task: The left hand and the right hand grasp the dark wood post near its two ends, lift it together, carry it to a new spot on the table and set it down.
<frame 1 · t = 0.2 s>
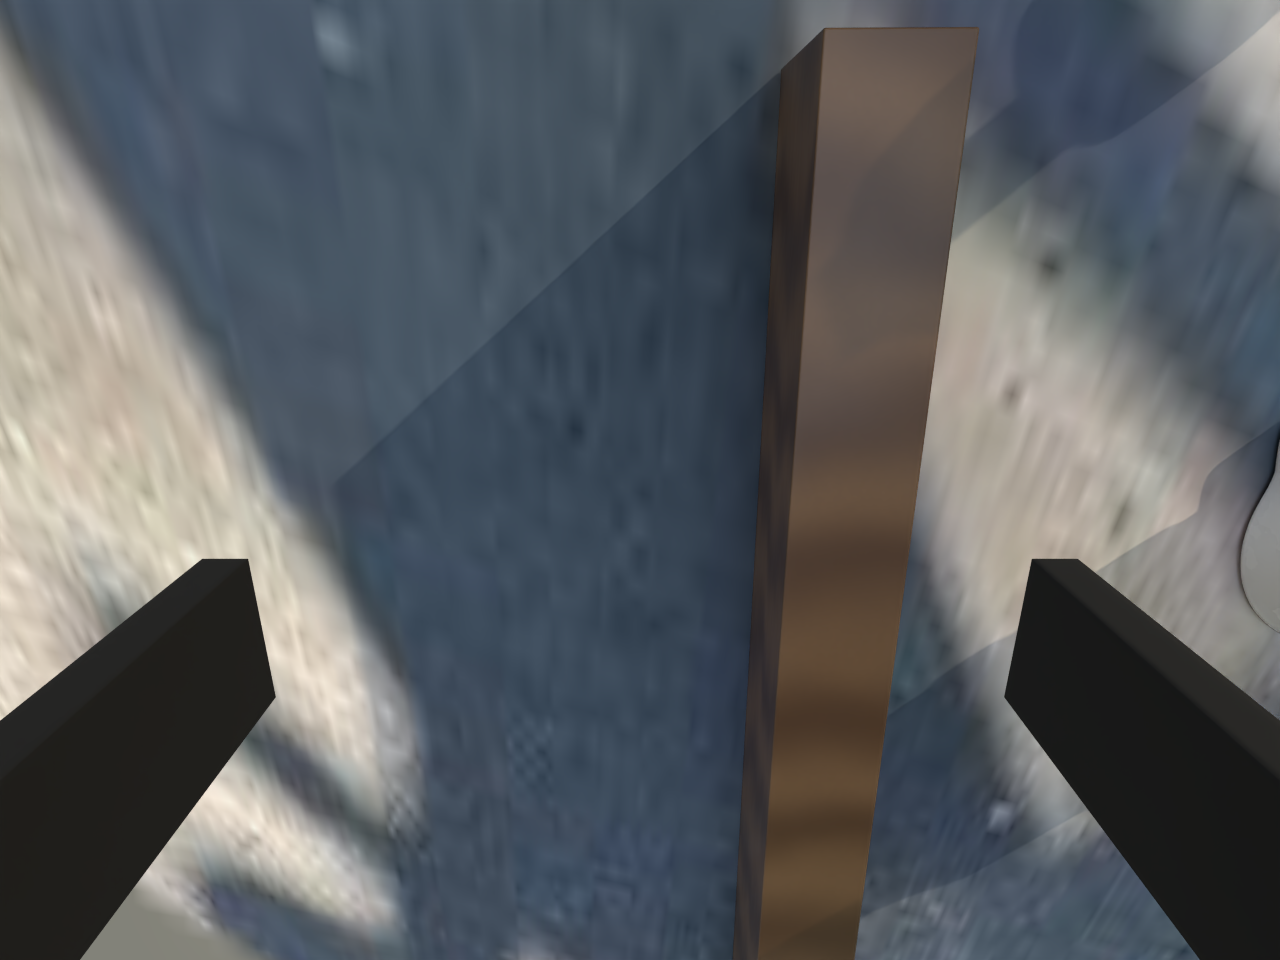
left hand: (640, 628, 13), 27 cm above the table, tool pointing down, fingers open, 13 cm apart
post: (796, 627, 44), on the table
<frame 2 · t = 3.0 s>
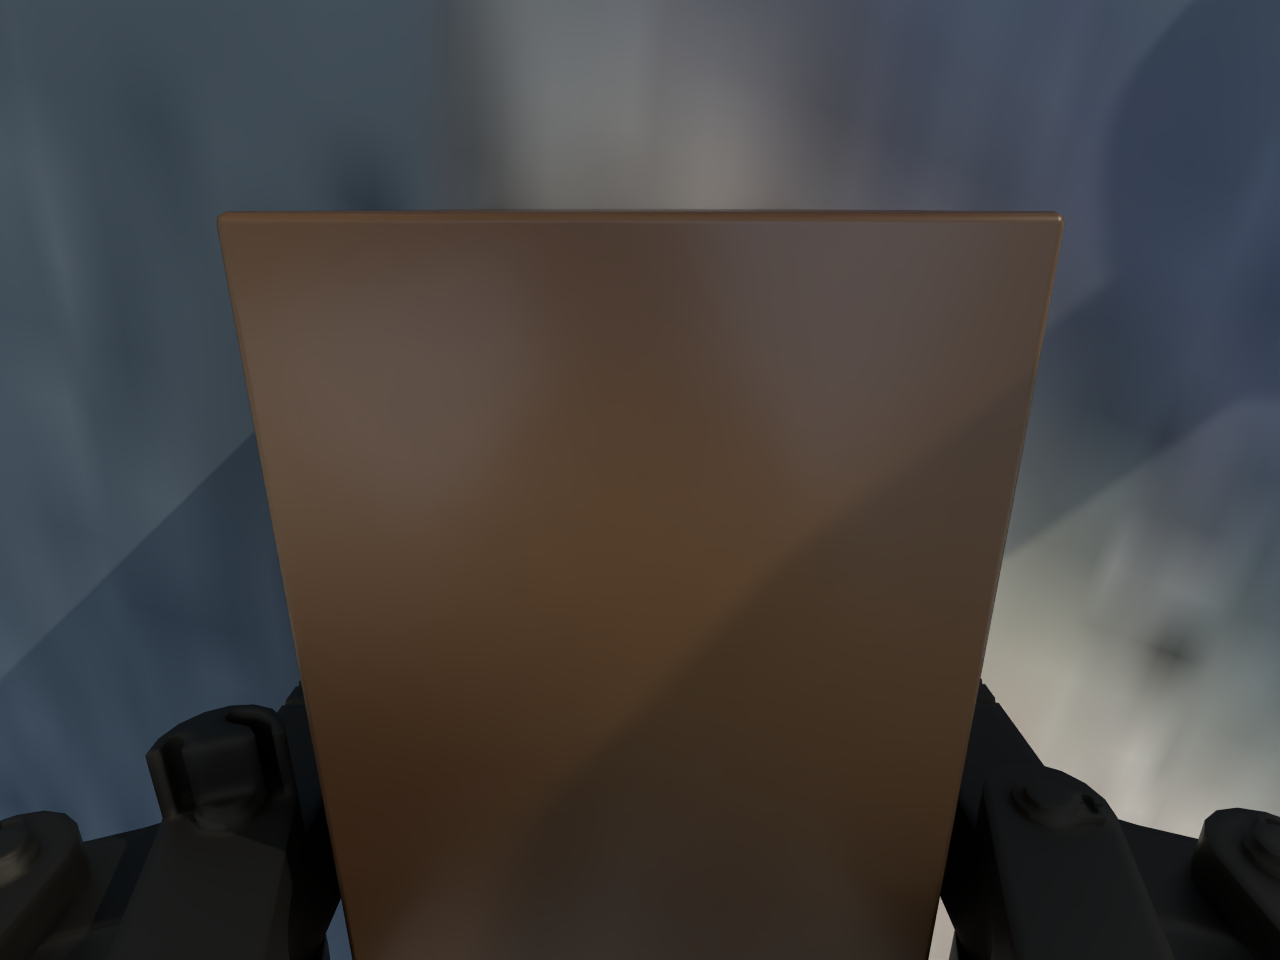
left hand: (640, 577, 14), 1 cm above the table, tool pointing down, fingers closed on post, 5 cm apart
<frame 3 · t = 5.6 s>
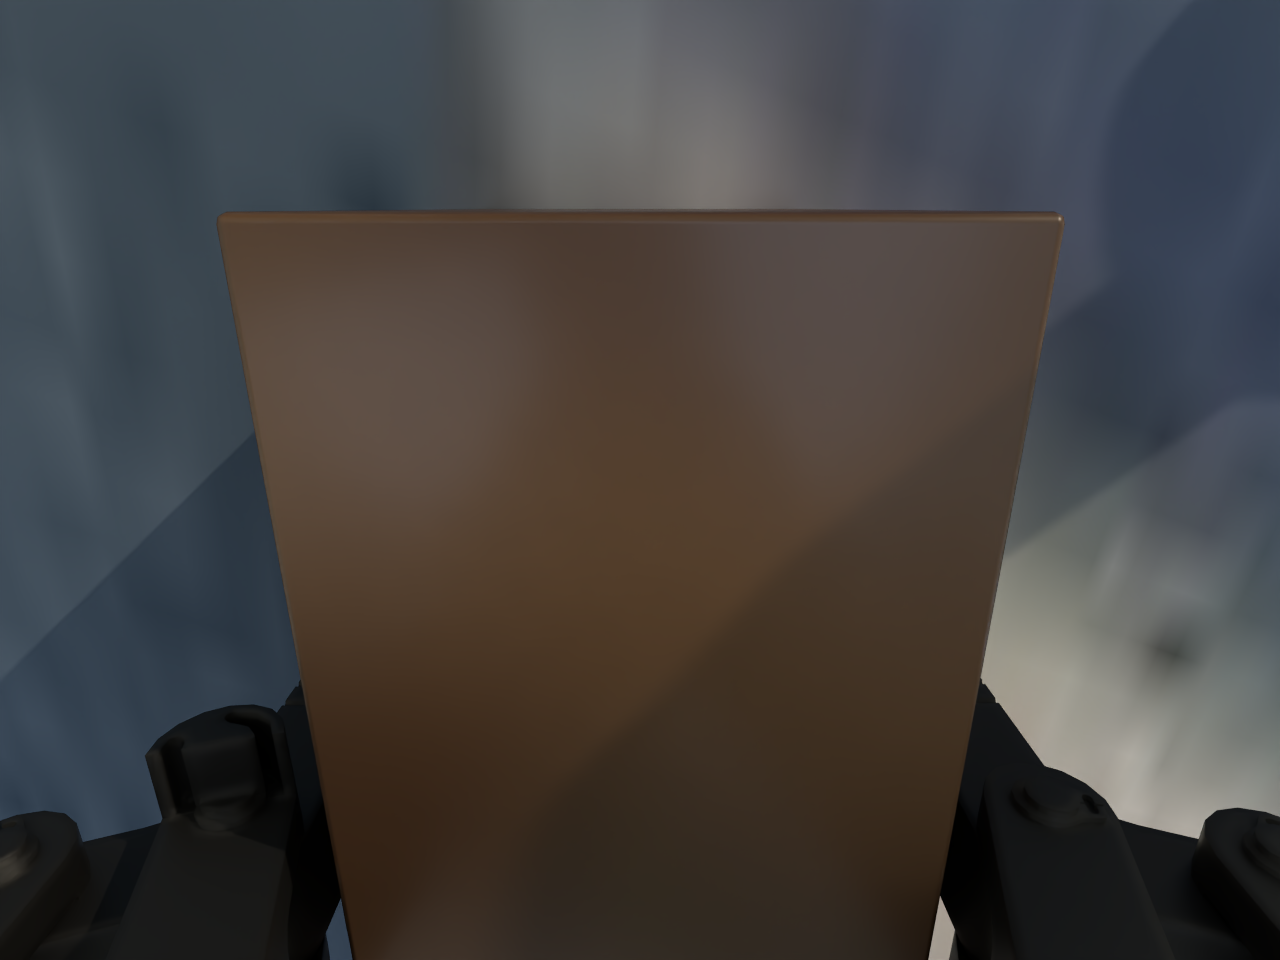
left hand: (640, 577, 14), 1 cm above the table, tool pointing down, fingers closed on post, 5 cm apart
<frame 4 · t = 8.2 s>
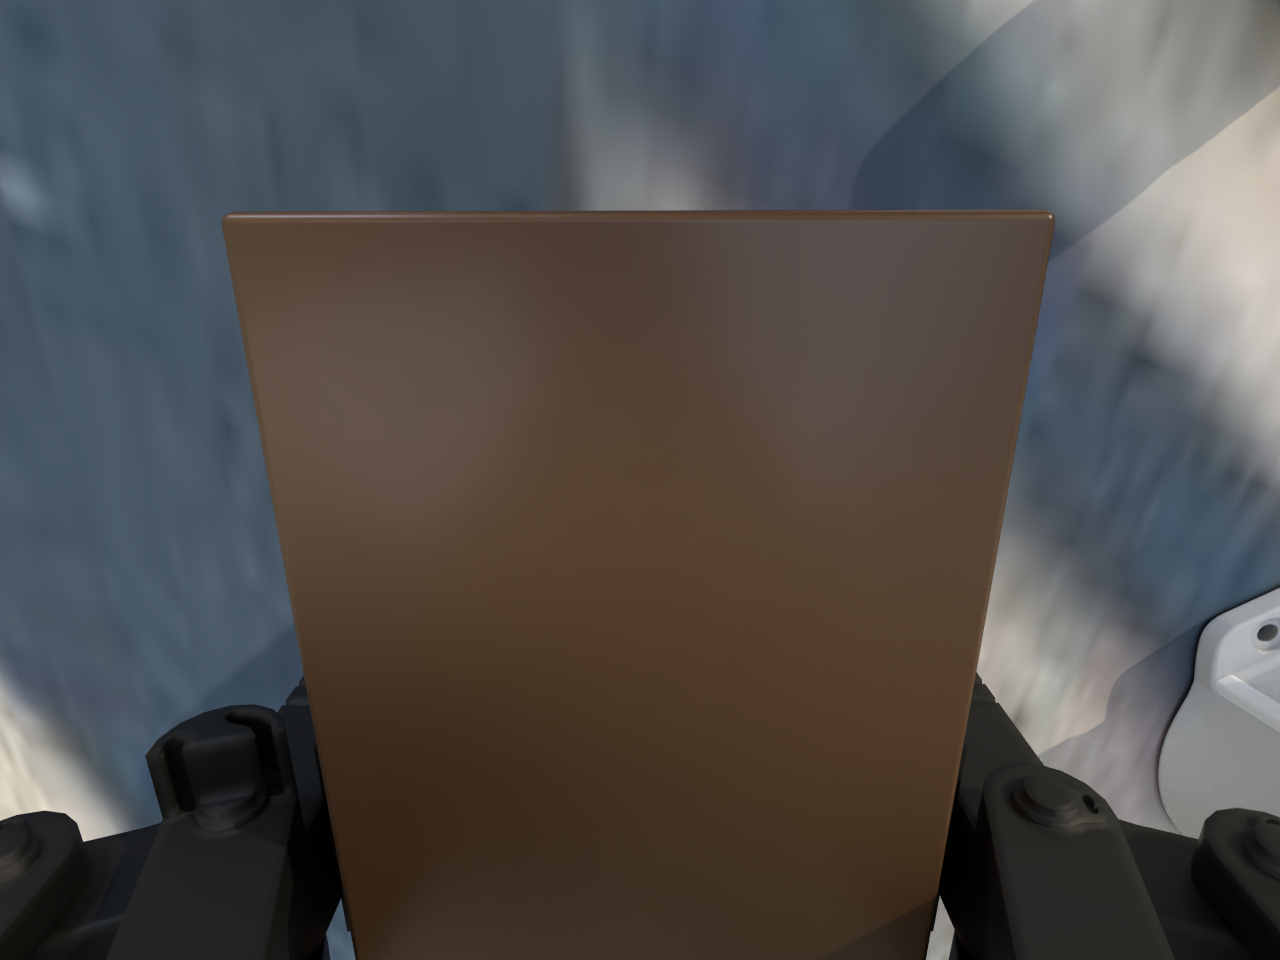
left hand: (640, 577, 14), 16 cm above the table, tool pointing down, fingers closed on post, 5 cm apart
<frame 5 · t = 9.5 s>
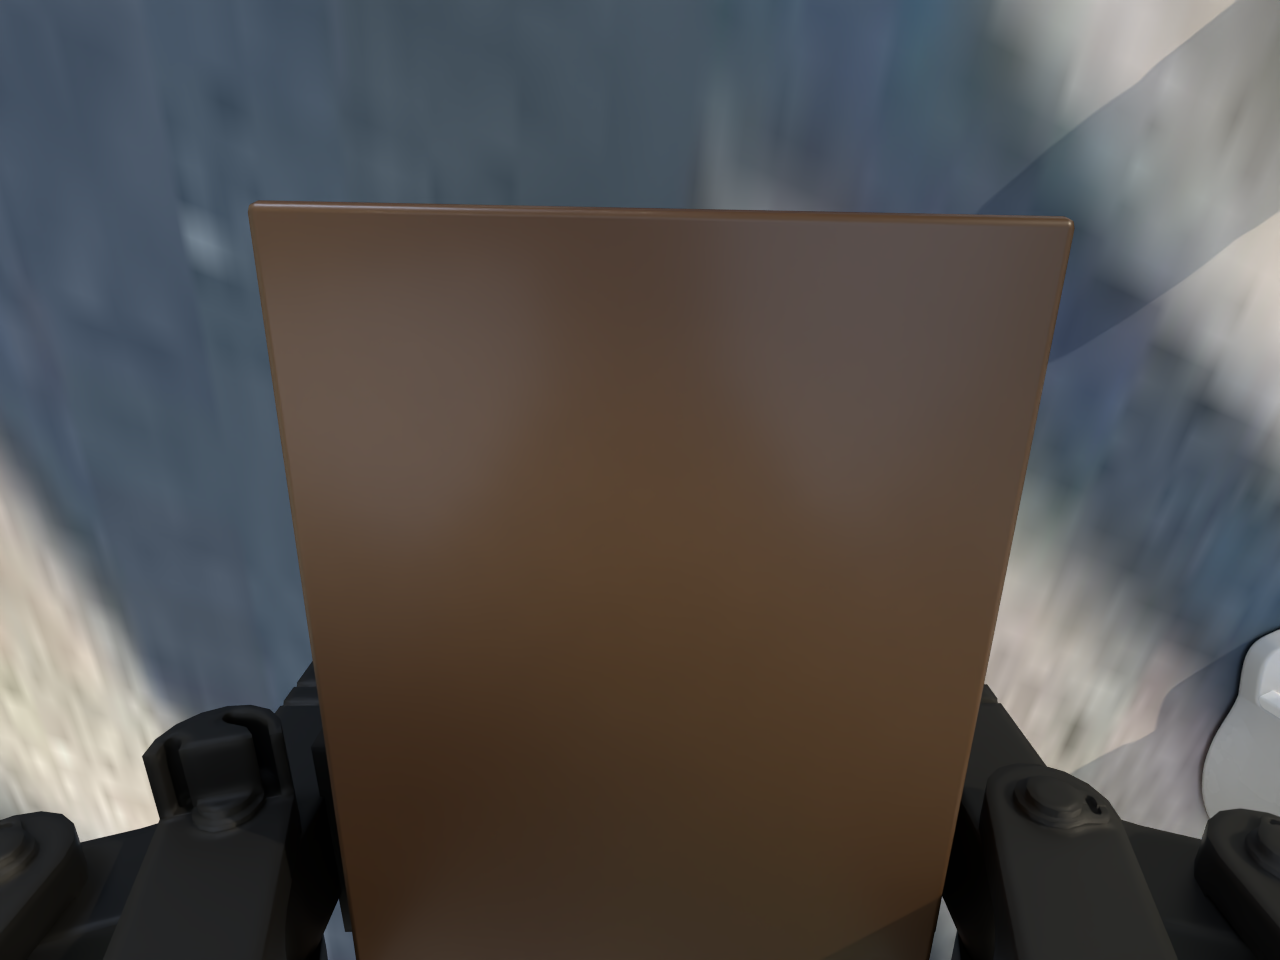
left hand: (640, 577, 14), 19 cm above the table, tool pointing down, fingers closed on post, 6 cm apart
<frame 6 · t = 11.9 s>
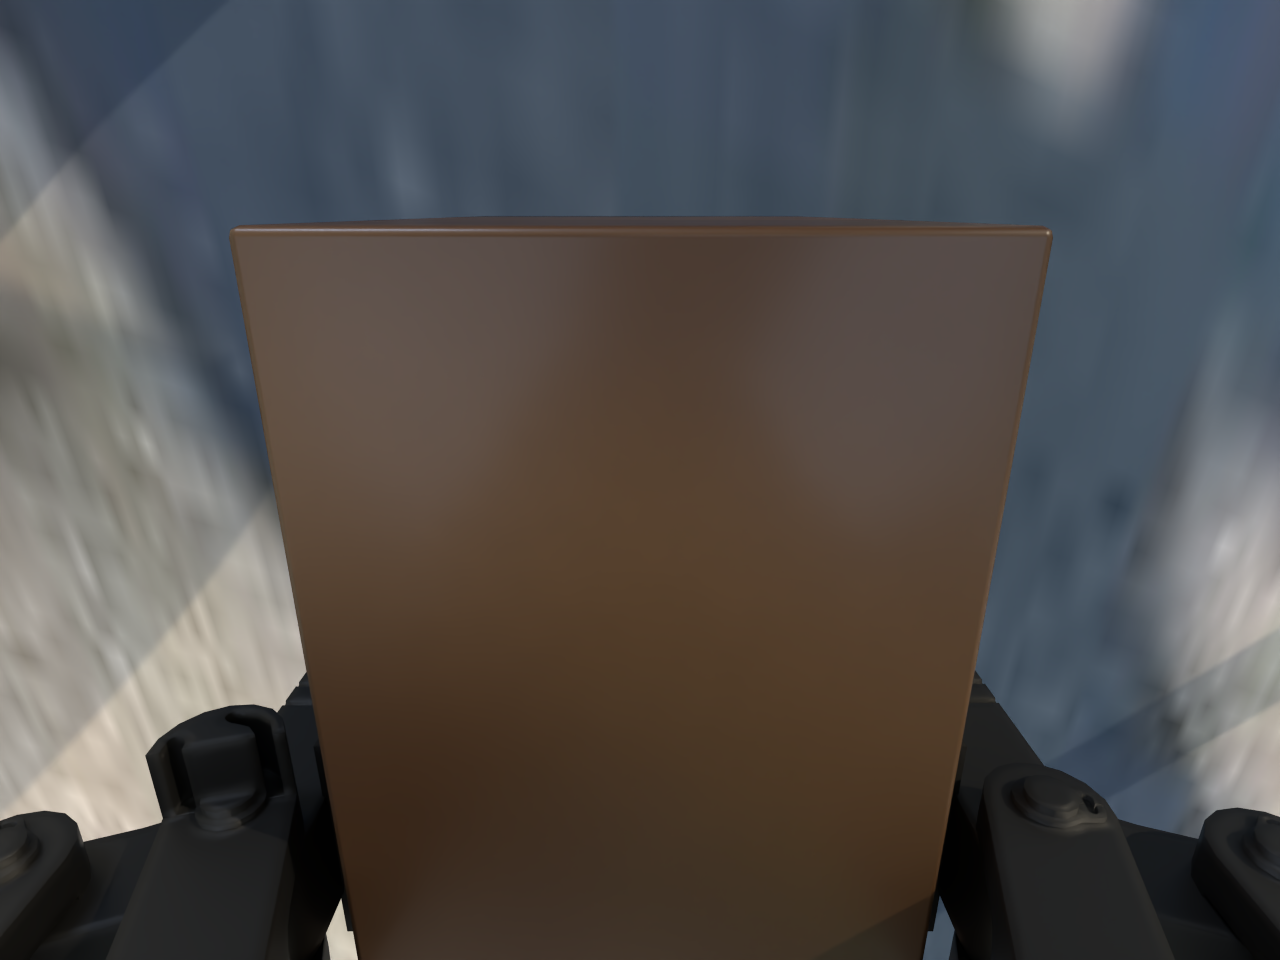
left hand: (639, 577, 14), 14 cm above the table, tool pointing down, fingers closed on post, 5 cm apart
when the left hand's fingers open (2 cm above the table, at t = 13.6 s): post drops 1 cm, on the table.
when the right hand's fingers open (5 cm above the table, at t = 13.8 s): post stays where it is, on the table.
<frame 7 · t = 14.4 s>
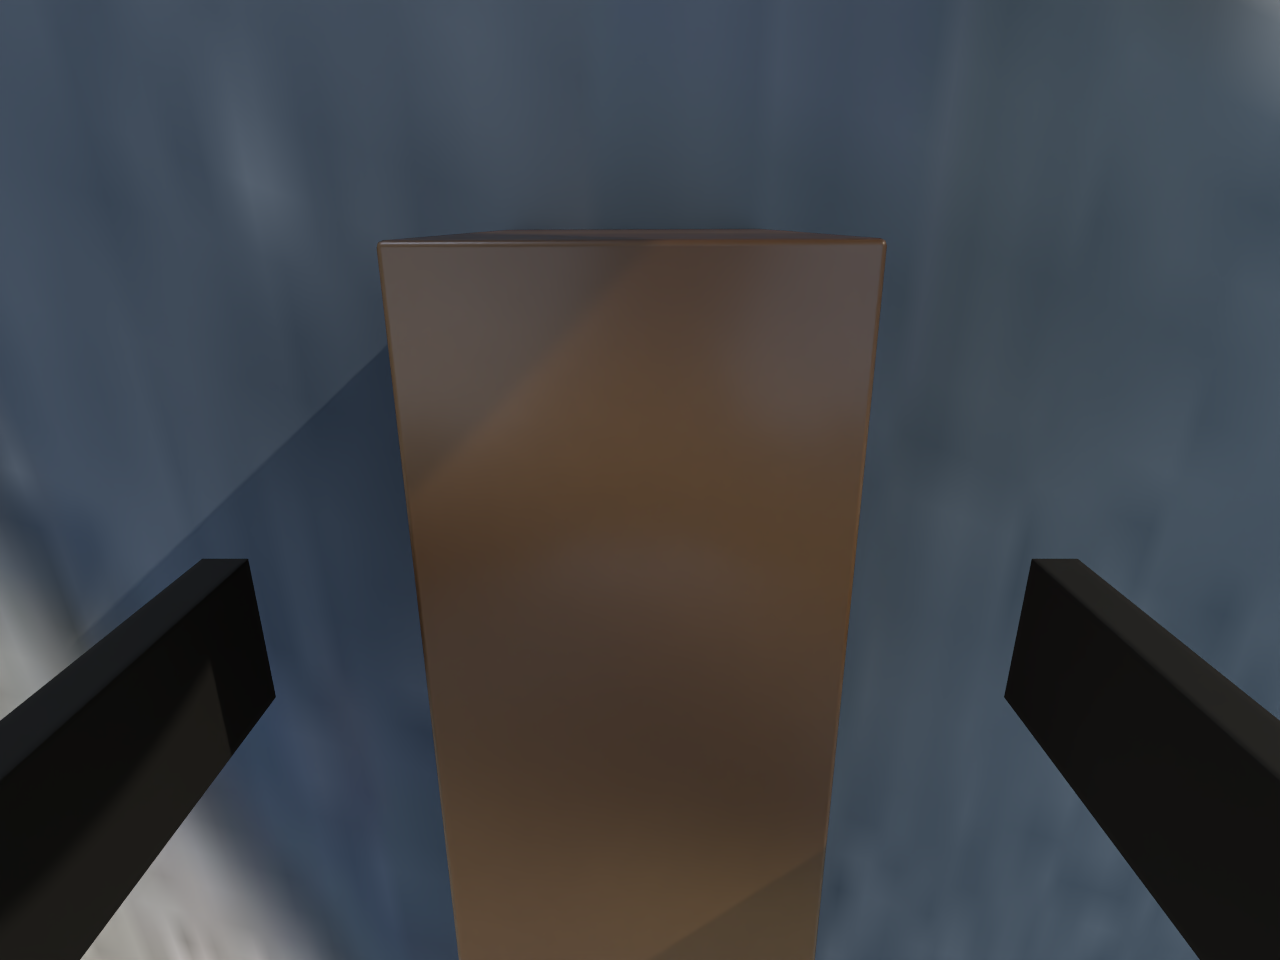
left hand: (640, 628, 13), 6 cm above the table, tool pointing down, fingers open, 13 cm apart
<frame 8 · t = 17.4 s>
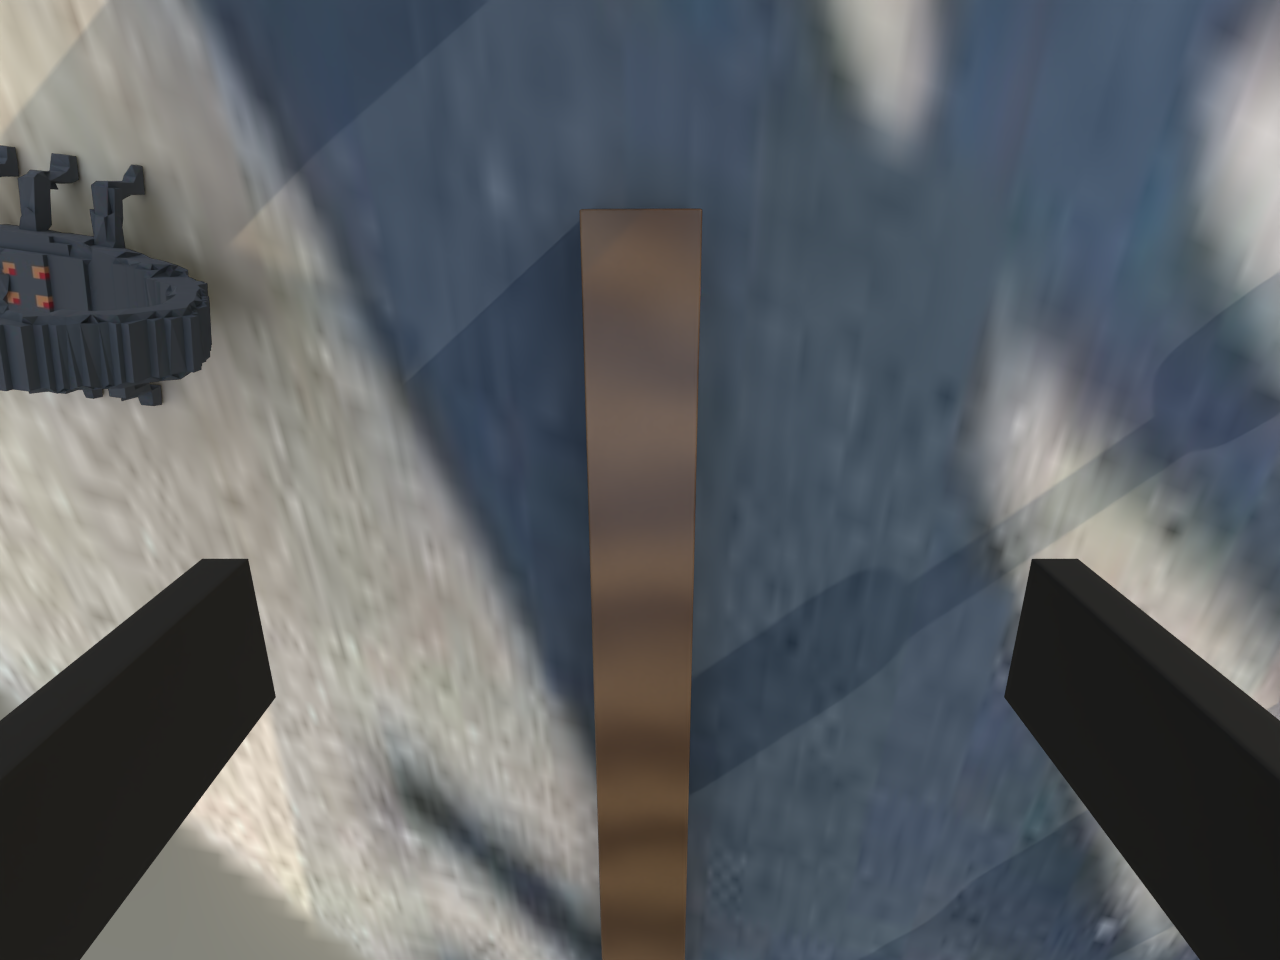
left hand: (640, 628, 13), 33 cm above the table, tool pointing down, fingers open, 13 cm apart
toy: (63, 269, 42), on the table
post: (642, 662, 51), on the table
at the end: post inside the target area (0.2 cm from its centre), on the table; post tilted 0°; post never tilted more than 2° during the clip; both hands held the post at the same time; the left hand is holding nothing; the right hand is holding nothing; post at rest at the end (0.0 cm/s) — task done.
